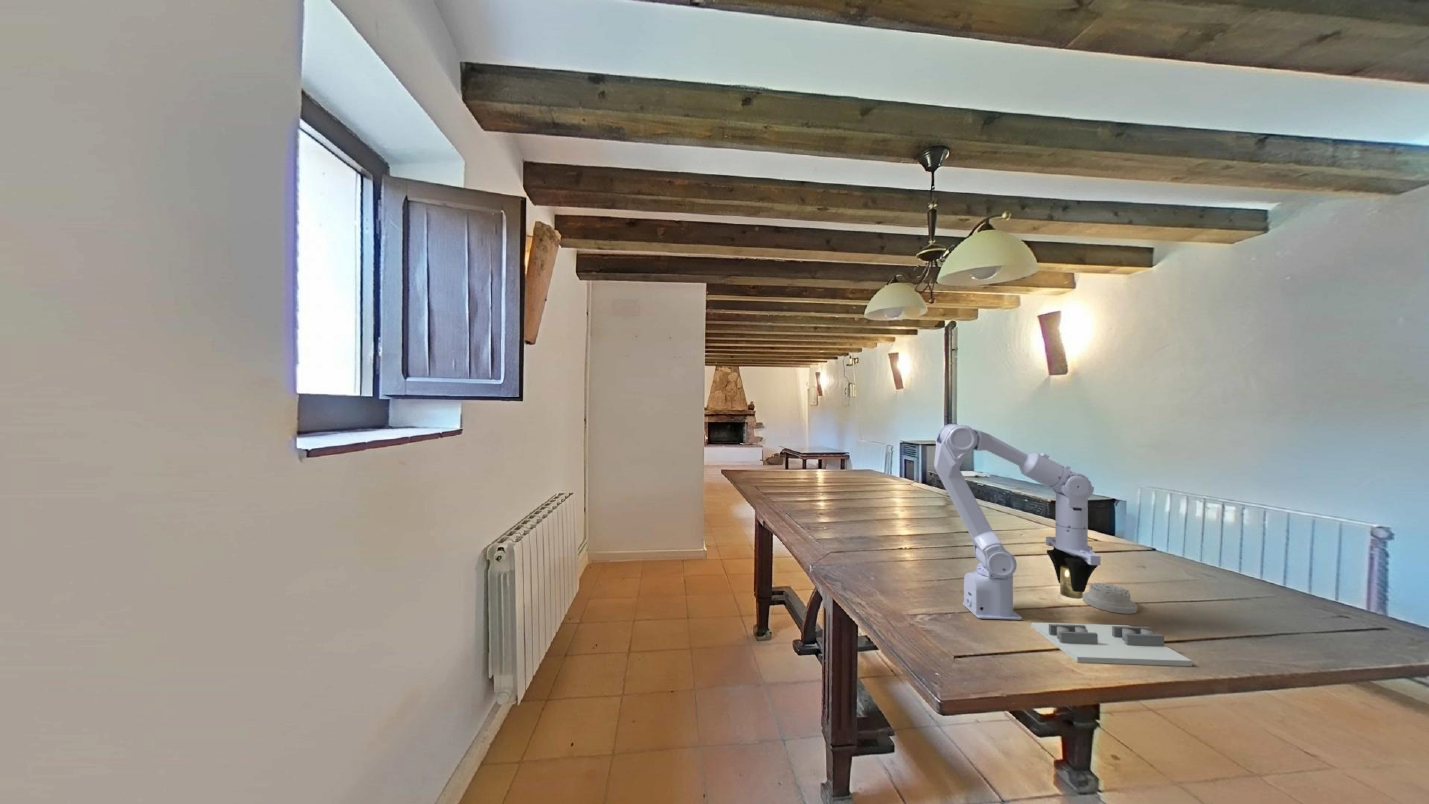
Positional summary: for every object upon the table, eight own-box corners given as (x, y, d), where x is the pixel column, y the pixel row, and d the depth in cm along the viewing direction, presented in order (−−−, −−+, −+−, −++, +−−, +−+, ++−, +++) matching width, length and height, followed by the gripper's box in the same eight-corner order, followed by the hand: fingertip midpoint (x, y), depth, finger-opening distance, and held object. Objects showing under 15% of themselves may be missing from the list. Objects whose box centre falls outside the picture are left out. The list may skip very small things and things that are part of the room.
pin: (1068, 598, 103) (1068, 570, 103) (1055, 591, 107) (1056, 564, 107) (1087, 599, 103) (1087, 571, 103) (1074, 591, 107) (1074, 565, 107)
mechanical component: (1149, 616, 108) (1116, 598, 117) (1148, 596, 108) (1116, 580, 117) (1101, 614, 108) (1073, 596, 118) (1101, 594, 109) (1073, 579, 118)
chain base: (1077, 662, 87) (1077, 646, 87) (1031, 627, 101) (1031, 613, 101) (1191, 666, 86) (1191, 649, 86) (1129, 630, 100) (1129, 615, 100)
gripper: (1116, 535, 97) (1115, 601, 97) (1067, 518, 112) (1067, 576, 112) (1080, 534, 98) (1080, 600, 98) (1036, 517, 112) (1036, 575, 112)
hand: (1071, 587), depth 105 cm, fingers closed on pin, 4 cm apart
